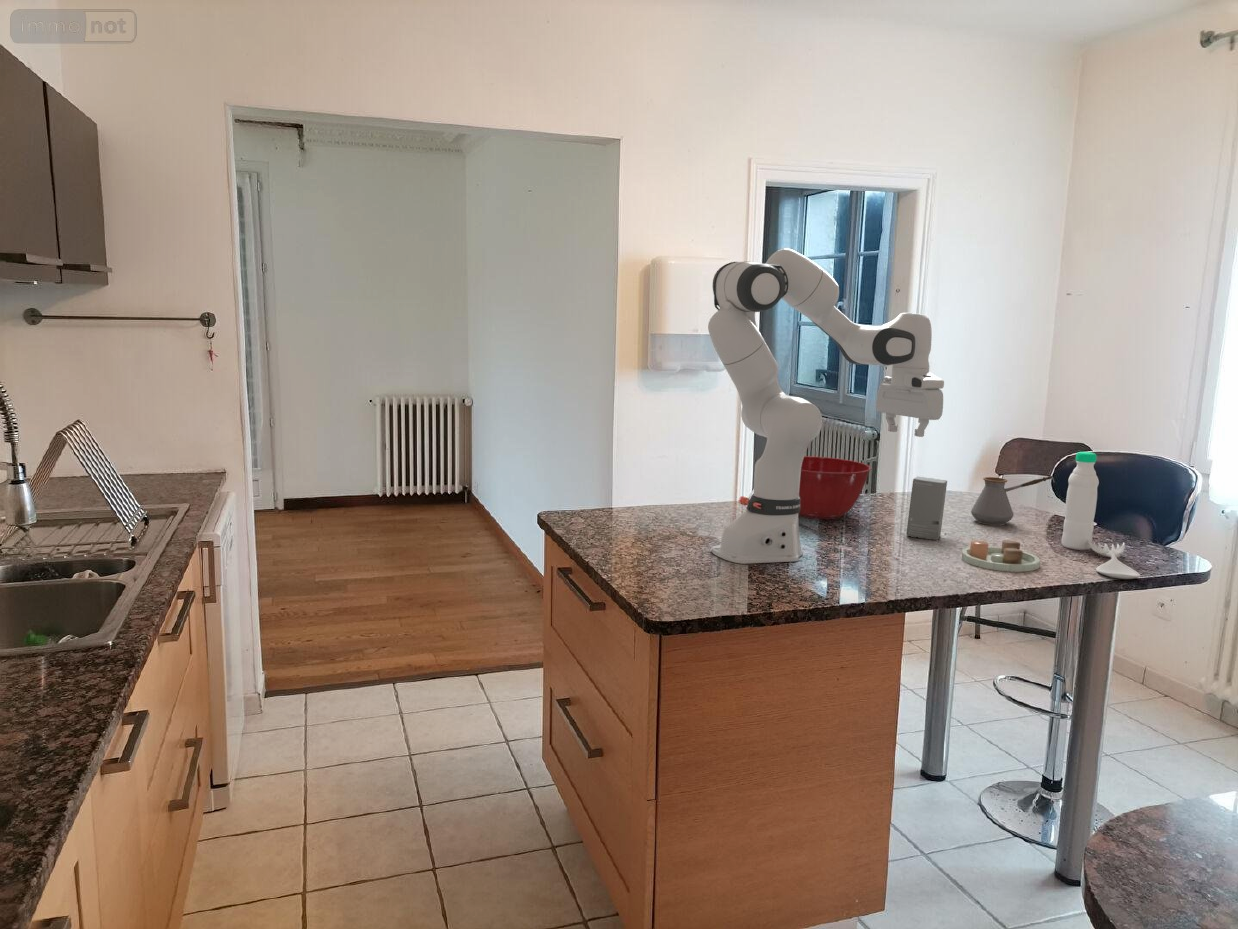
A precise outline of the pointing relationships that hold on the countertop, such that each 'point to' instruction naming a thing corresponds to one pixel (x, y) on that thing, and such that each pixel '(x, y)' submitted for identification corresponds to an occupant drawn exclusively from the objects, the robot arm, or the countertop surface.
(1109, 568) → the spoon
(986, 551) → the loose bead
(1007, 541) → the seated bead
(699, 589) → the countertop surface
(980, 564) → the groove tray
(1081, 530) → the milk bottle
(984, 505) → the coffee pot
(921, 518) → the skincare box
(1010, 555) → the seated bead
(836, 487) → the mixing bowl
